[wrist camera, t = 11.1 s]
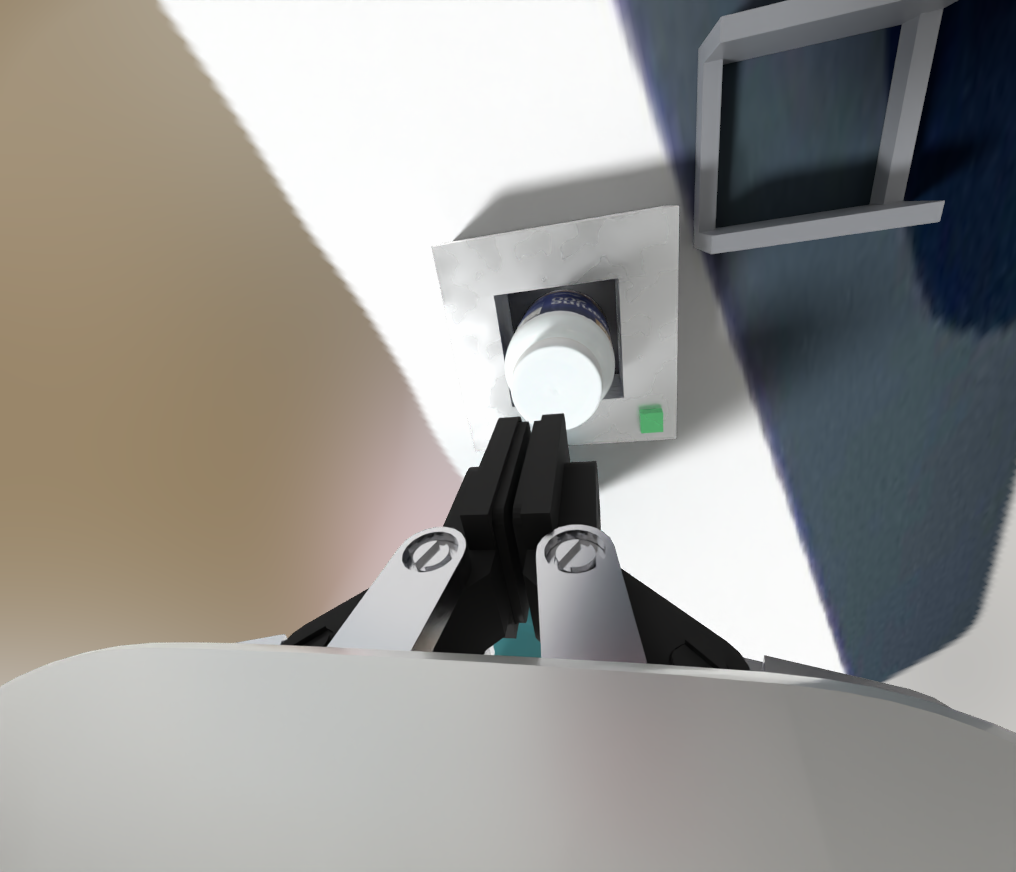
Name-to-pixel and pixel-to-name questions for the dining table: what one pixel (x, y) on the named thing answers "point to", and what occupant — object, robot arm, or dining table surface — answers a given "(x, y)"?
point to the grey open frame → (855, 10)
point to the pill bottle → (560, 358)
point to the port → (559, 262)
